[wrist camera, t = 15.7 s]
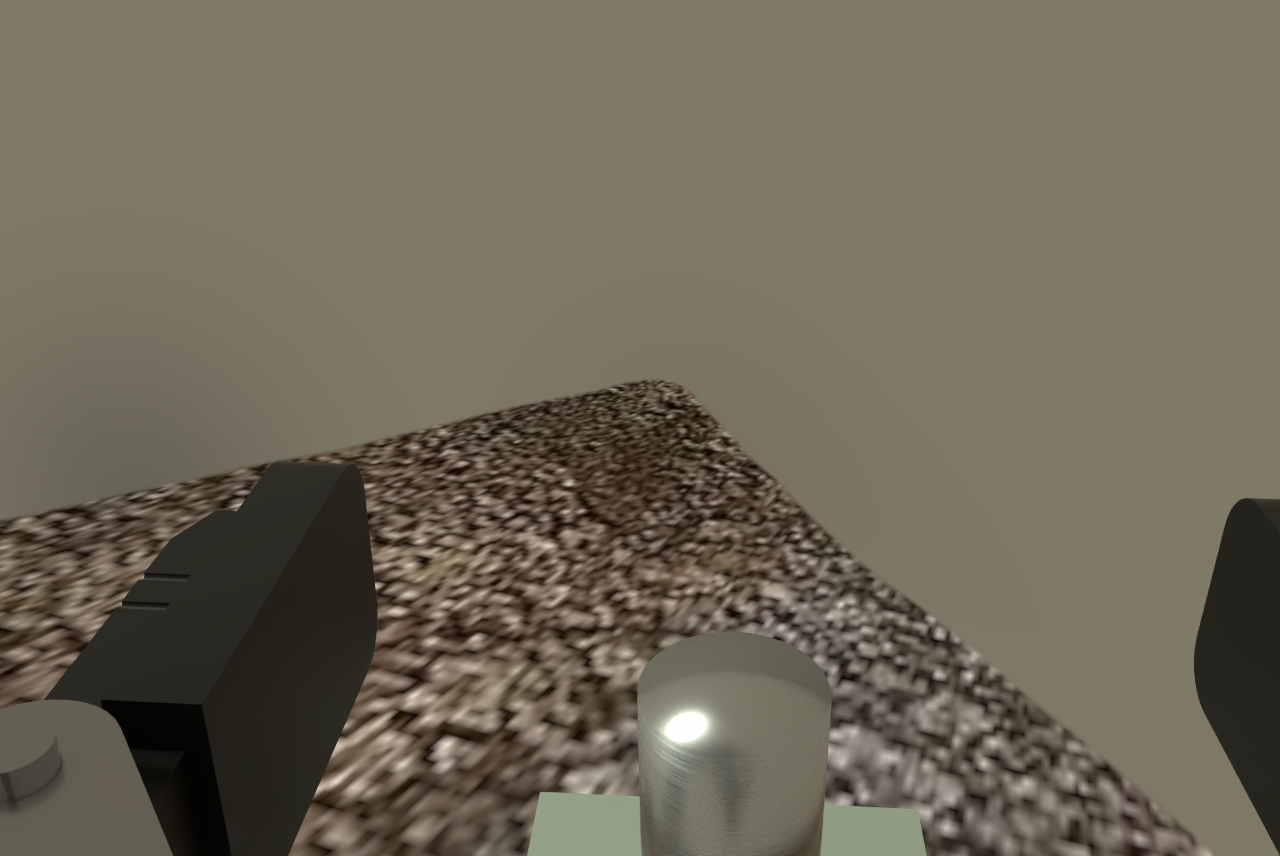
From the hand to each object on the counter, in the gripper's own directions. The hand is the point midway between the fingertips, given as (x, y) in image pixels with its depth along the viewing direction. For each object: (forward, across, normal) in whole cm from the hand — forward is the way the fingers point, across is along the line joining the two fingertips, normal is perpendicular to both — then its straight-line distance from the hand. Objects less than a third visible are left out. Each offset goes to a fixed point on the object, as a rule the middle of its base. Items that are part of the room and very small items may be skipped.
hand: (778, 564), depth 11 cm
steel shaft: (+16, 0, +27) cm, 31 cm away
